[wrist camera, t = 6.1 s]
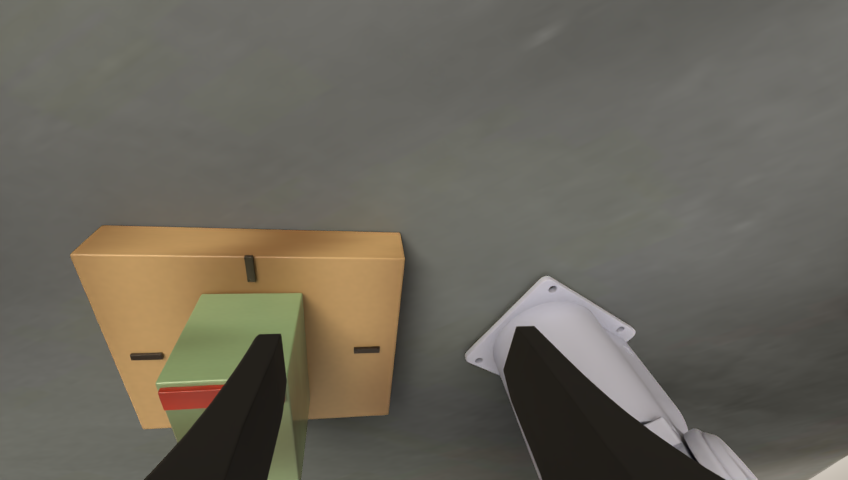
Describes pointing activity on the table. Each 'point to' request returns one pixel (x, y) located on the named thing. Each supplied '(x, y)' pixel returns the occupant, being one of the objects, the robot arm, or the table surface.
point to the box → (220, 355)
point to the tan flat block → (242, 274)
